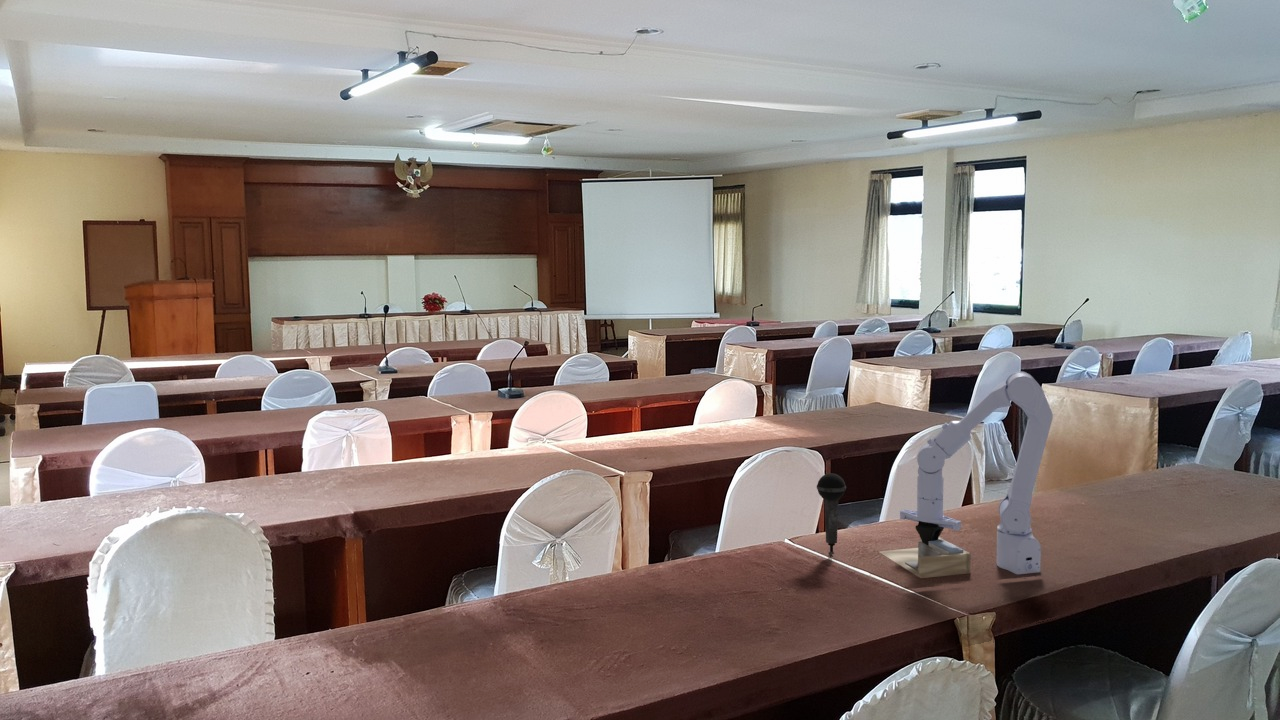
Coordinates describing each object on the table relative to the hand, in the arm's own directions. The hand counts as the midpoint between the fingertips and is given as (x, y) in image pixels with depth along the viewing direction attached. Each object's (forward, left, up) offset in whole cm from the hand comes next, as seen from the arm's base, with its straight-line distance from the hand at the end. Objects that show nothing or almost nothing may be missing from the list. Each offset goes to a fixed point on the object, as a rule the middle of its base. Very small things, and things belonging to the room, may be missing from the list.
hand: (929, 554), depth 218 cm
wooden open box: (-1, +2, -2) cm, 3 cm away
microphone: (+11, +19, -2) cm, 22 cm away
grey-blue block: (-6, -1, -1) cm, 6 cm away
